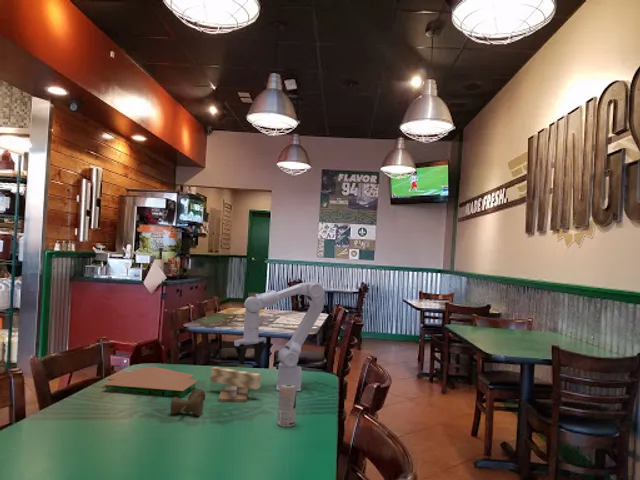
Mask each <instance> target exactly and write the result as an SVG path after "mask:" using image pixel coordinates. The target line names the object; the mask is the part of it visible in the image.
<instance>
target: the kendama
mask: <svg viewBox="0 0 640 480" xmlns="http://www.w3.org/2000/svg"><path fill="white" fill-rule="evenodd" d="M187 399H188V400H184V399H182V398H181V397H180V398H179V397H178V396H173V397H172V399H171V401H170V414H171V415H172V416H174V415H177V414H180V413H183V412H189V413H192V414H194V415H195V416H197V417H200V416H201V415H202V413H203V409H204V402H205V399H206V393H205V391H204V390H203V389H202V388H201V389H200V388H196V389H192V391H191V392H190V394H189V395H188V397H187Z"/></svg>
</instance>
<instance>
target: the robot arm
mask: <svg viewBox="0 0 640 480" xmlns="http://www.w3.org/2000/svg"><path fill="white" fill-rule="evenodd" d="M296 295H301V296H302V295H303V296H305V298H307V302H308V303H309V307H308V309H307V311H306V313H305V315H304V316H303V318H302V319H301V321H300V323H299V324H298V326H297V328H296V330H295V331H294V333H293V334H292V337H290V340H288V341H287V342H286V343H285V345H284V346H283V347H281V348H280V349H279V351H278V354H277V359H278V360H279V363H278V370H277V384H276V385H275V386H276V389H275V390H276V391H278V392H279V388H280V385H281V384H294V385H296V388H297V390H296V392H301V390H302V383H303V382H302V375H303V374H302V372H303V371H302V366H300V365H298V362H299V356H300V355H301V353H302V352H301V351H302V346H303V345H304V342H305V341H306V339H307V337H308V336H309V334H310V332H311V330H312V329H313V327H314V325H315V323H316V322H317V320H318V318H320V316H321V313H322V312H323V309H324V305H325V303H324V302H325V295H326V292H325V290H324V287H323V285H322V284H321V283H319V282H315V281H311V280H310V281H307V282H300V283H297V284H294V285H292V286H289V287H287V288H284V289H281V290H279V291H275V290H273V289H272V290H271V289H267V290H266V292H263V293H260V294H258V293H255V296H249V297H247V298H246V299H245V301H244V303H243V306H244V308H245V311H244V314H245V315H244V323H243V336H242V337H243V338H239V339H236V340H234V342H233V343H234V344H233V345H234V346H233V348H234V350H235V351H236V354H237V358H238V363H239V365H243V366H244V365H245V361H246V354H247V350H248V346H247V345H253V351H254V357H253V358H254V359H253V361H254V362H256V363H260V360H261V358H262V354H263V352H264V350H265V349H266V346H267V344H266V343H267V337H263V336H262V337H261V336H260V337H259V330H260V311H261V309H266V308H269V307H272V306H275V305H277V304H279V301H280V300H283V299H286V298H290V297H292V296H296Z"/></svg>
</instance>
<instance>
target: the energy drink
mask: <svg viewBox="0 0 640 480" xmlns="http://www.w3.org/2000/svg"><path fill="white" fill-rule="evenodd" d="M296 390H297V388H296V385H294V384H281V385H280V388H279V391H278V394H279V395H278V410H277V424H278V426H280V427H284V428H290V427H293V426H295V424H296V410H297V409H296V405H297V391H296Z"/></svg>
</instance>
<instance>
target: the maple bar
mask: <svg viewBox="0 0 640 480" xmlns="http://www.w3.org/2000/svg"><path fill="white" fill-rule="evenodd" d="M210 382H212V383H217V384H222V385H228V386H232V385H233V386H238V387H244V388H248V390H249V389H250V390H258V389H261V373H256V372H251V371H250V372H249V371H243V370H238V369H232V368H227V367H220V366H214V367H210Z"/></svg>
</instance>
